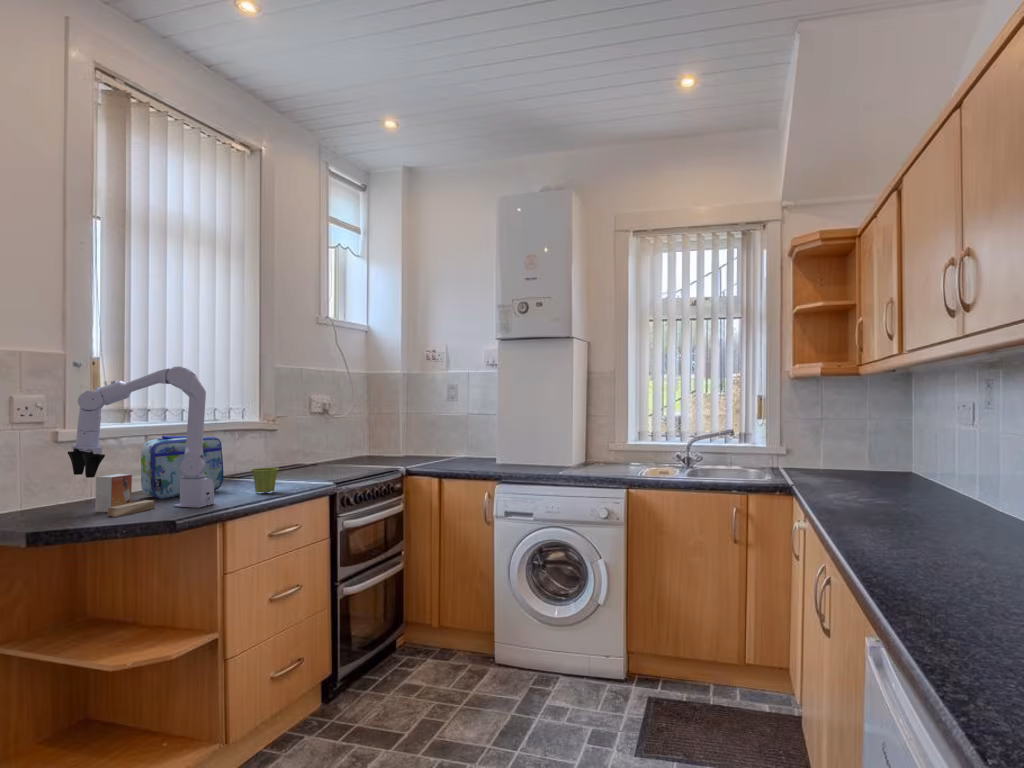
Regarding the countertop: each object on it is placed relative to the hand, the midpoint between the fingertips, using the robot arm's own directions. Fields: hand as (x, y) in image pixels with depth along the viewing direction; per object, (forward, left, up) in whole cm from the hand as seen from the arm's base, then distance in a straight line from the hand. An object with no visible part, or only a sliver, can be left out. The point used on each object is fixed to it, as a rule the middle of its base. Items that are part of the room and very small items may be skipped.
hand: (84, 475), depth 191 cm
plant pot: (-31, -45, -11) cm, 56 cm away
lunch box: (-6, -34, -11) cm, 36 cm away
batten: (-16, -1, -10) cm, 19 cm away
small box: (-8, -3, -11) cm, 14 cm away
